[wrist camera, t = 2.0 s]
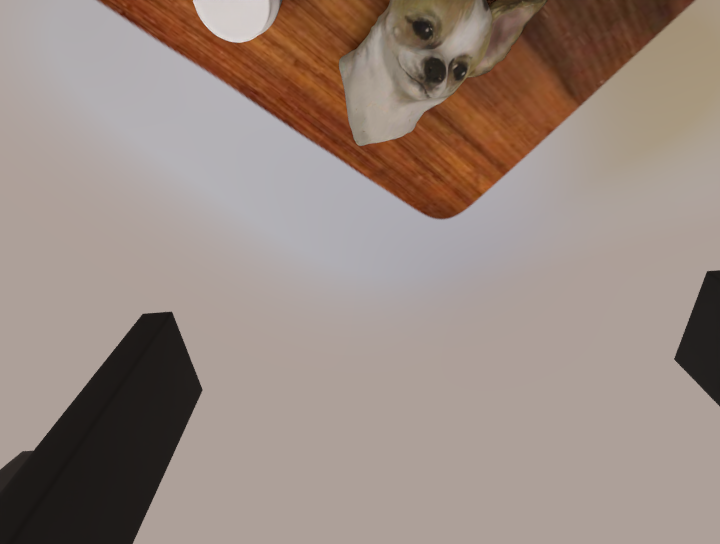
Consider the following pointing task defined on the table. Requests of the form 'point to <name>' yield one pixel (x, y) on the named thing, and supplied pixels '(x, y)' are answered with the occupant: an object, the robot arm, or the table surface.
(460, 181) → the table surface
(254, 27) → the pill bottle
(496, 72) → the table surface
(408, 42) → the ceramic sculpture
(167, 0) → the table surface
